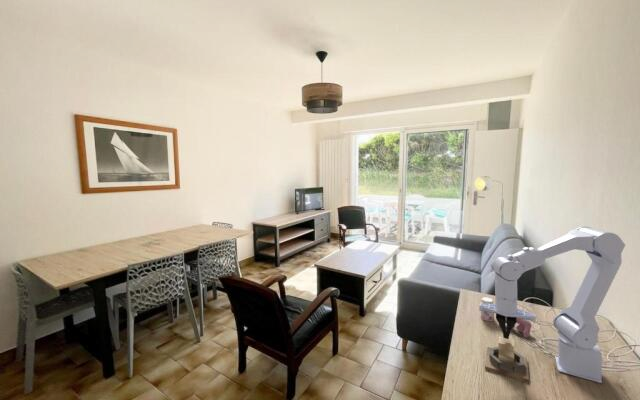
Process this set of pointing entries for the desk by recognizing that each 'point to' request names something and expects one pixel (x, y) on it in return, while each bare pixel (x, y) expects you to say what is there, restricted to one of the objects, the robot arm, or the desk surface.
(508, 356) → the maple plug
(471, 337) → the desk surface
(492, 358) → the ring holder
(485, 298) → the pill bottle
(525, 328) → the video game controller
